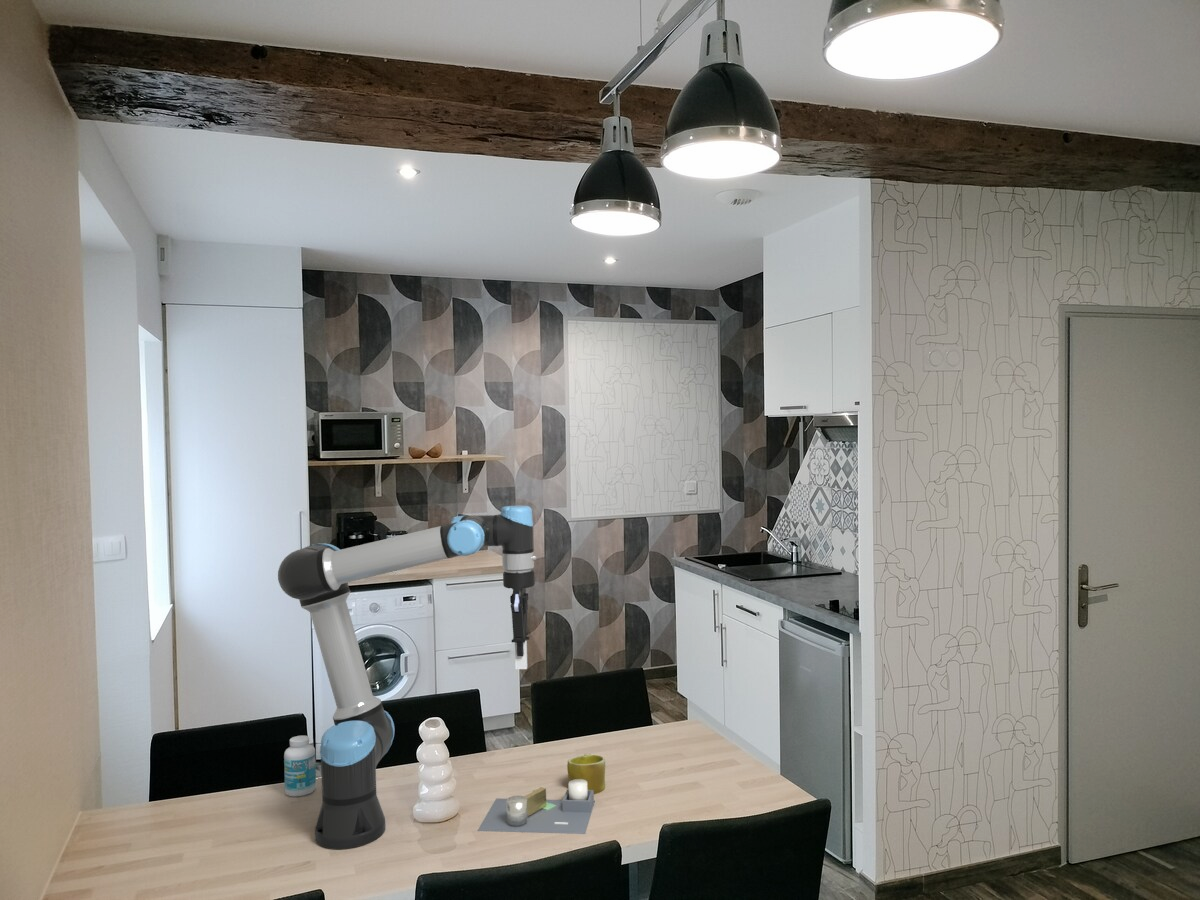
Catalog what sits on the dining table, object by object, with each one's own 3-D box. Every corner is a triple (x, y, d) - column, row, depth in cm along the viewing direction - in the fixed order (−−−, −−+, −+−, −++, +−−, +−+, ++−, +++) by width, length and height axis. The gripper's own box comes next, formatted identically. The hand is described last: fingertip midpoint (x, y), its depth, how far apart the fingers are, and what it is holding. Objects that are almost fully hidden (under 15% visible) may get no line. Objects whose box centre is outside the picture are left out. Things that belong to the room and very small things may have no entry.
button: (567, 805, 193) (567, 786, 193) (570, 797, 197) (570, 778, 197) (586, 806, 192) (585, 786, 192) (589, 798, 197) (588, 779, 197)
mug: (607, 795, 199) (595, 752, 201) (568, 806, 201) (557, 763, 203) (620, 785, 210) (608, 745, 213) (582, 795, 212) (572, 755, 215)
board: (477, 836, 183) (476, 819, 183) (496, 803, 200) (495, 788, 200) (585, 839, 181) (584, 822, 181) (595, 805, 197) (594, 790, 197)
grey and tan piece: (518, 827, 184) (517, 805, 184) (502, 822, 186) (502, 801, 186) (551, 807, 193) (551, 787, 193) (536, 803, 196) (535, 783, 196)
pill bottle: (278, 797, 208) (277, 743, 208) (294, 785, 215) (293, 732, 215) (306, 798, 206) (305, 744, 206) (321, 786, 214) (320, 733, 214)
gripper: (531, 573, 193) (533, 675, 193) (537, 566, 206) (539, 661, 206) (498, 574, 194) (501, 676, 194) (507, 566, 207) (509, 661, 207)
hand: (521, 668), depth 200 cm, fingers closed
